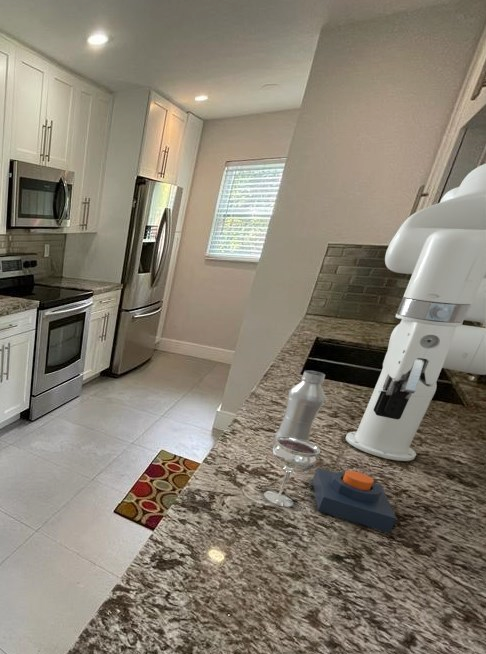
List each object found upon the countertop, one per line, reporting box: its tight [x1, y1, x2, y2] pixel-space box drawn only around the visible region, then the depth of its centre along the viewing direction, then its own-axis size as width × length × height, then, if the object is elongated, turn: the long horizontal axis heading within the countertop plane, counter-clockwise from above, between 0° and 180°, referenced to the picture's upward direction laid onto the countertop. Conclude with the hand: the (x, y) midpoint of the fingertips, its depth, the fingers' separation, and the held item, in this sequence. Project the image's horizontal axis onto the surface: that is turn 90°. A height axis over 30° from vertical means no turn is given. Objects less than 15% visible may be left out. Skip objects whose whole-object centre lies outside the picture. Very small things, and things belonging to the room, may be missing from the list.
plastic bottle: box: [272, 369, 326, 446], centre depth 93 cm, size 6×7×20 cm
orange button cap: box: [343, 470, 375, 490], centre depth 77 cm, size 4×4×2 cm
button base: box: [312, 467, 397, 534], centre depth 78 cm, size 12×10×5 cm
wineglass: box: [263, 436, 321, 507], centre depth 77 cm, size 7×7×12 cm
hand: (386, 415), depth 72 cm, fingers closed
